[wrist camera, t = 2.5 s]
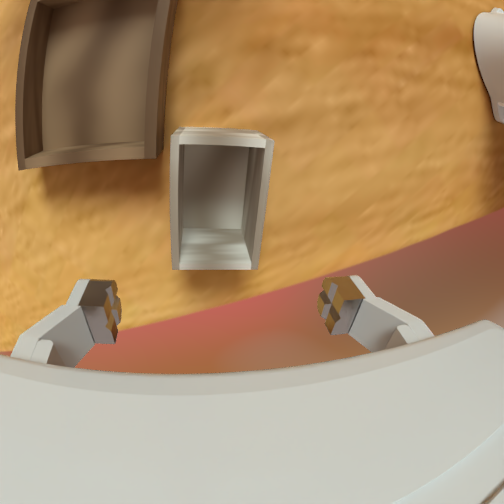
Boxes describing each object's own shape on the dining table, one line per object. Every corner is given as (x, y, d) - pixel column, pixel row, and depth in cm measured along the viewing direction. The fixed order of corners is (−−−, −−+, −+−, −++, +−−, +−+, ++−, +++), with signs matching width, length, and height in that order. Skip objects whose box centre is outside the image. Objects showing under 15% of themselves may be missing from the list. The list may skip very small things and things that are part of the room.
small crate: (256, 130, 21) (274, 140, 16) (245, 231, 25) (257, 269, 20) (179, 126, 19) (170, 135, 14) (177, 231, 24) (172, 269, 19)
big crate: (181, -18, 13) (178, -36, 10) (163, 149, 20) (155, 158, 17) (51, 5, 10) (31, -4, 7) (40, 158, 18) (18, 170, 15)
